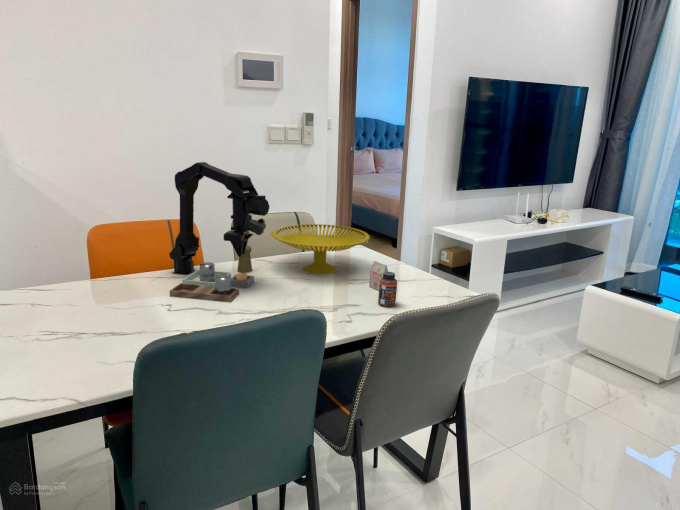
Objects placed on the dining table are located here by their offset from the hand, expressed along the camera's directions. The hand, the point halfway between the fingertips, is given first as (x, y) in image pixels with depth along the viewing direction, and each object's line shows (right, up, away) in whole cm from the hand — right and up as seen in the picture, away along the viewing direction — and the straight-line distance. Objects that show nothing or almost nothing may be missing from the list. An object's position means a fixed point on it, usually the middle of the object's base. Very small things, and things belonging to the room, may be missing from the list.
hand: (241, 255), depth 183 cm
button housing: (-1, -12, +3) cm, 12 cm away
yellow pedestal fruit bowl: (+27, -6, +29) cm, 40 cm away
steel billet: (-13, -10, +5) cm, 17 cm away
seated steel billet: (-4, -14, -10) cm, 18 cm away
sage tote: (-13, -11, +5) cm, 18 cm away
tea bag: (+50, -13, +8) cm, 52 cm away
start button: (0, -10, +3) cm, 10 cm away
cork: (-3, -7, +21) cm, 22 cm away
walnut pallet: (-11, -14, -9) cm, 20 cm away
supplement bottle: (+51, -17, -8) cm, 55 cm away
